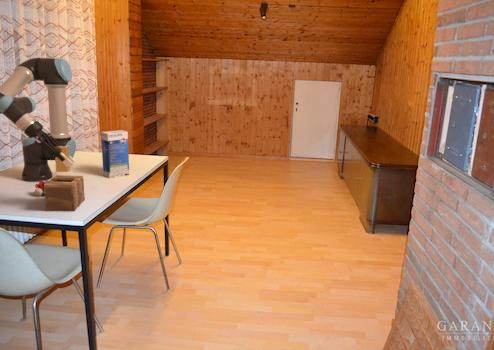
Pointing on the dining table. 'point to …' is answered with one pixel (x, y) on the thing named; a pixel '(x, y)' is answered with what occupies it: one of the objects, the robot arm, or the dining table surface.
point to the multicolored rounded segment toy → (40, 188)
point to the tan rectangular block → (59, 165)
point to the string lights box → (115, 153)
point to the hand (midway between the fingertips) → (71, 164)
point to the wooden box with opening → (64, 193)
